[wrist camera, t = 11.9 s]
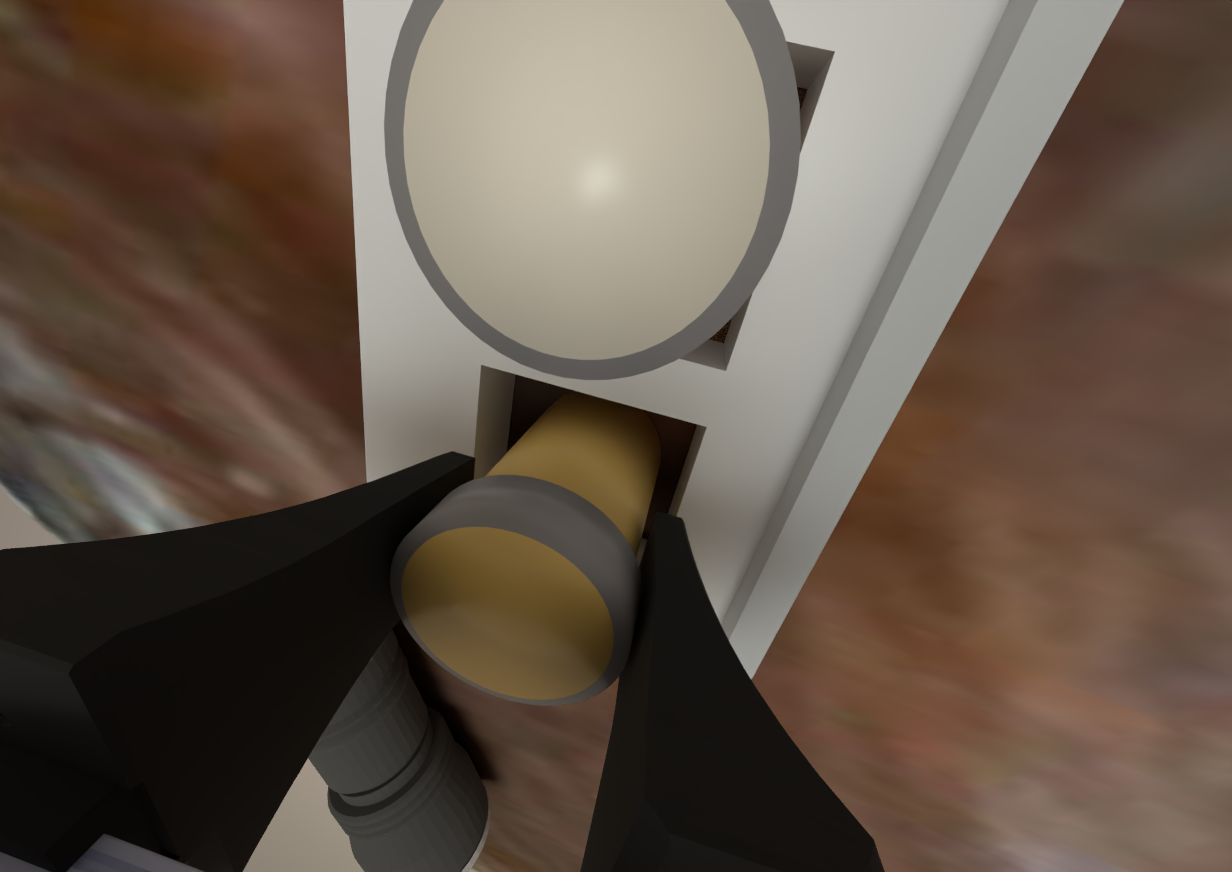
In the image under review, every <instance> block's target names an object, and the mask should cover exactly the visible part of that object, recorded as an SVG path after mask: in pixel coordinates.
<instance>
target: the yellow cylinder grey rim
mask: <svg viewBox="0 0 1232 872" xmlns="http://www.w3.org/2000/svg"><path fill="white" fill-rule="evenodd" d="M661 454H662V452H661V443H660V439H659V435H658V433H657V430H656V428H655V426H654V424H653V422H652V421H651V420H650V418H649V417H648V415H647V414H646V413H645V412H644V411H643V410H642V409H639V408H636V407H632V406H629V405H625V404H621V403H618V402H614V401H610V400H607V399H603V398H600V397H596V396H592V395H589V394H585V393H581V392H578V391H574V392H571V393H569V394H567V395H564V396H562V397H561V398H559V399H558V400H556V401H555V402H554V403H553V404H552V405H551V406H550V407H549V408H548V409H547V410H546V411H545V412H544V413H543V414H542V415H541V417H540V418H539V419H538V420H537V421H536V422H535V423H534V424H533V425H532V426H531V427H530V428H529V430H528V431H527V432H526V433H525V434H524V435H523V436H522V437H521V438H520V439H519V440H518V441H517V442H516V444H515V445H514V446H513V447H512V448H511V449H510V450H509V451H508V452H507V453H506V454H505V455H504V456H503V458H502V459H501V460H500V461H499V462H498V463H497V464H496V465H495V466H494V467H493V468H492V469H491V471H490V472H489V473H488V474H487V475H486V476H485V477H482V478H478V479H475V480H472V481H469V482H467V483H465V484H463V485H460V486H459V487H457V488H456V489H454V490H453V491H451V492H450V493H449V494H448V495H447V496H446V497H445V498H444V499H443V500H442V501H441V502H440V503H439V504H438V505H437V506H436V507H435V508H434V509H433V510H432V511H431V512H430V513H429V514H428V515H427V516H426V517H425V518H424V519H423V520H422V521H421V522H420V523H419V524H418V525H417V526H416V527H415V528H414V529H413V530H412V531H411V532H410V533H409V534H408V535H406V536H405V538H404V539H403V540H402V542H401V543H400V545H399V546H398V548H397V550H396V552H395V554H394V556H393V560H392V564H391V570H390V585H391V593H392V597H393V601H394V604H395V607H396V609H397V612H398V614H399V616H400V618H401V620H402V622H403V624H404V625H405V627H406V629H407V630H408V632H409V633H410V634H411V636H412V637H413V639H414V640H415V641H416V642H417V643H418V645H419V646H420V647H421V648H422V649H423V650H424V651H425V652H426V653H427V654H428V655H429V656H430V657H431V658H432V659H433V660H434V661H435V662H437V663H438V664H439V665H440V666H441V667H443V668H444V669H445V670H447V671H448V672H450V673H451V674H453V675H454V676H455V677H457V678H459V679H460V680H462V681H464V682H465V683H467V684H469V685H471V686H473V687H475V688H477V689H479V690H481V691H484V692H486V693H489V694H491V695H494V696H497V697H500V698H503V699H506V700H510V701H515V702H519V703H524V704H532V705H548V706H551V705H565V704H570V703H576V702H579V701H582V700H586V699H588V698H591V697H593V696H595V695H597V694H599V693H600V692H602V691H603V690H605V689H606V688H608V687H609V686H610V685H611V684H612V683H613V682H614V681H615V680H616V679H617V678H618V677H619V675H620V674H621V672H622V671H623V669H624V667H625V665H626V663H627V660H628V657H629V652H630V648H631V644H632V639H633V634H634V630H635V625H636V620H637V616H638V611H639V607H640V602H641V596H642V581H641V573H640V569H639V566H638V562H637V559H636V557H637V553H638V549H639V545H640V541H641V538H642V534H643V530H644V526H645V522H646V518H647V514H648V510H649V506H650V503H651V499H652V495H653V491H654V487H655V483H656V479H657V475H658V471H659V468H660V463H661Z"/></svg>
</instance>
